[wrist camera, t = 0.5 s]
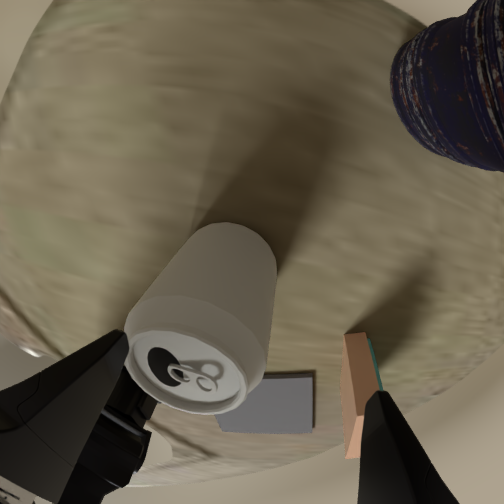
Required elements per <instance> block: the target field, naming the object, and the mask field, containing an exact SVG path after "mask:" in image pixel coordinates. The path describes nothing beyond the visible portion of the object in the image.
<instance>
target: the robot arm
mask: <svg viewBox="0 0 504 504" xmlns="http://www.w3.org/2000/svg"><path fill="white" fill-rule="evenodd" d="M128 353H129V342H128V338H127V334H126V333H125V332H124V331H121V330H118V329H115V330H113V331H111V332H109V333H108V334H106V335H104V336H102V337H100V338H99V339H97V340H95V341H93V342H92V343H90V344H88V345H86V346H85V347H83V348H81V349H79V350H78V351H76V352H74V353H72V354H71V355H69V356H67V357H65V358H63V359H62V360H60V361H58V362H56V363H55V364H53V365H51V366H49V367H48V368H46V369H44V370H42V371H41V372H39V373H37V374H35V375H33V376H32V377H30V378H28V379H26V380H24V381H22V382H20V383H18V384H15V385H13V386H11V387H9V388H6V389H4V390H1V391H0V504H35V502H34V499H35V497H36V495H37V496H39V497H41V498H43V499H45V500H48V501H50V502H52V504H101V502H102V500H103V498H104V496H105V495H107V494H108V493H110V492H112V491H114V490H116V489H118V488H123V487H124V486H126V485H127V484H129V482H130V479H131V476H132V474H136V473H137V472H138V471H139V469H140V468H141V466H142V464H143V462H144V460H145V457H146V453H147V449H148V446H149V442H150V438H151V434H152V432H150V431H148V430H145V429H143V427H144V425H145V422H146V420H150V418H151V416H152V414H153V411H154V409H155V407H156V405H157V403H161V402H159V401H157V400H156V399H155V398H153V397H152V396H150V395H149V394H148V393H146V392H145V391H144V390H143V389H142V388H141V387H140V386H139V385H138V384H137V383H136V382H135V381H134V380H133V379H132V377H131V375H130V373H129V372H128V370H127V368H126V366H123V365H124V363H125V360H126V358H127V355H128ZM357 504H459V502H458V501H457V499H456V498H455V497H454V495H453V494H452V493H451V491H450V490H449V489H448V487H447V486H446V484H445V483H444V482H443V480H442V479H441V477H440V476H439V474H438V472H437V471H436V469H435V467H434V466H433V464H432V463H431V461H430V459H429V457H428V456H427V454H426V452H425V451H424V449H423V447H422V446H421V444H420V442H419V441H418V439H417V437H416V436H415V434H414V433H413V431H412V429H411V428H410V426H409V425H408V423H407V421H406V420H405V418H404V416H403V415H402V413H401V412H400V410H399V408H398V407H397V405H396V404H395V402H394V401H393V399H392V397H391V396H390V394H389V393H388V392H387V391H382V390H377V391H375V392H374V394H373V395H372V396H371V397H370V399H369V400H368V401H367V403H366V405H365V411H364V421H363V429H362V437H361V449H360V474H359V490H358V503H357Z"/></svg>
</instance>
